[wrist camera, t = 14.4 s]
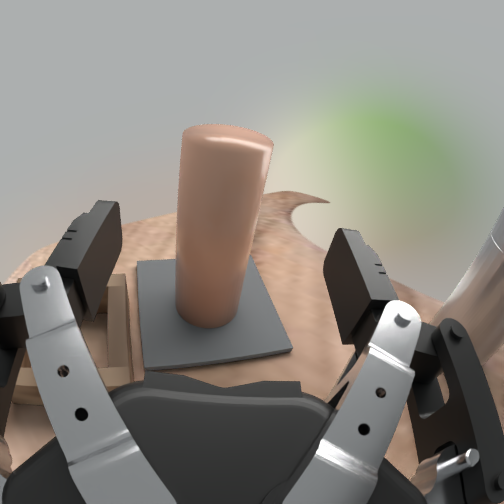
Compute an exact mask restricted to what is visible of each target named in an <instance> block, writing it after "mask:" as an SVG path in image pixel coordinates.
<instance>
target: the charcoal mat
mask: <svg viewBox="0 0 504 504" xmlns="http://www.w3.org/2000/svg"><path fill="white" fill-rule="evenodd" d="M175 265H176V259H167V260H148V261H137V279H138V300H139V316H140V329H141V340H142V351H143V360H144V368H145V371H146V370H147V371H152V370H164V369H174V368H184V367H193V366H202V365H210V364H217V363H224V362H231V361H238V360H244V359H251V358H257V357H263V356H268V355H274V354H279V353H284V352H290V351H291V350H292V349H293V347H292V344H291V342H290V340H289V338H288V336H287V333H286V331H285V329H284V327H283V325H282V322H281V320H280V318H279V316H278V314H277V311H276V309H275V307H274V305H273V303H272V300H271V298H270V296H269V294H268V292H267V289H266V287H265V285H264V283H263V281H262V278H261V276H260V274H259V272H258V270H257V267H256V265H255V263H254V261H253V259H252V256H251V255H250V256H249V260H248V265H247V269H246V274H245V278H244V283H243V288H242V292H241V297H240V301H239V306H238V310H237V313H236V315H235V317H234V318H233V319H232V320H231V321H230V322H229V323H227V324H226V325H223V326H221V327H217V328H200V327H197V326H194V325H192V324H190V323H188V322H186V321H185V320H184V319H183V318H182V317H181V316H180V315H179V313H178V312H177V309H176V305H175Z"/></svg>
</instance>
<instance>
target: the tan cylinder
mask: <svg viewBox="0 0 504 504" xmlns="http://www.w3.org/2000/svg"><path fill="white" fill-rule="evenodd" d="M273 146H274V144H273V142H272V141H271V140H270V139H269V138H268V137H266V136H265V135H262V134H261V133H258V132H256V131H253V130H250V129H246V128H242V127H237V126H231V125H222V124H220V125H219V124H206V125H197V126H193V127H190V128H188V129H186V130H184V132H183V136H182V147H181V159H180V173H179V189H178V205H177V228H176V265H175V305H176V309H177V312H178V313H179V315H180V316H181V317H182V318H183V319H184V320H185V321H186V322H188V323H190V324H192V325H194V326H197V327H200V328H217V327H221V326H223V325H226V324H227V323H229V322H230V321H231V320H232V319H233V318H234V317H235V315H236V313H237V310H238V306H239V301H240V297H241V292H242V288H243V283H244V278H245V274H246V269H247V265H248V260H249V256H250V251H251V246H252V242H253V237H254V233H255V228H256V224H257V219H258V214H259V210H260V205H261V201H262V196H263V191H264V187H265V182H266V178H267V173H268V169H269V164H270V160H271V155H272V151H273Z"/></svg>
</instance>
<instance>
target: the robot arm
mask: <svg viewBox="0 0 504 504" xmlns="http://www.w3.org/2000/svg"><path fill="white" fill-rule="evenodd" d="M121 248H122V229H121V219H120V208H119V203H118V202H115V201H102V200H98V201H97V202H96V203H95V205H94V206H93V208H92V209H91V211H90V212H89V213H83V214H82V215H80V216H79V217H77V218H76V219H75V220H74V221H73V222H72V223H71V225H70V226H69V228H68V229H67V232H65V234H64V235H63V237H62V239H61V240H60V241H59V243H58V244H57V246H56V248H55V249H54V251H53V252H52V254H51V256H50V257H49V259H48V261H47V262H46V264H45V266H39V267H36V268H34V269H32V270H30V271H29V272H27V273H26V274H25V275H24V277H23V278H22V280H21V282H20V283H12V284H4V285H2V284H1V282H0V504H498V503H501V502H503V501H504V435H503V431H502V427H501V423H500V420H499V416H498V413H497V410H496V407H495V403H494V400H493V397H492V394H491V391H490V388H489V385H488V383H487V380H486V377H485V374H484V372H483V369H482V365H483V364H484V363H485V362H486V361H487V360H488V359H489V358H490V357H491V356H492V355H493V354H494V353H495V352H496V351H497V350H498V349H499V348H500V347H501V346H502V345H503V344H504V208H503V210H502V212H501V214H500V215H499V217H498V219H497V221H496V223H495V225H494V227H493V229H492V230H491V232H490V234H489V236H488V238H487V239H486V241H485V243H484V244H483V246H482V248H481V249H480V251H479V253H478V254H477V256H476V257H475V259H474V261H473V262H472V264H471V265H470V267H469V269H468V270H467V272H466V273H465V275H464V276H463V278H462V279H461V281H460V282H459V284H458V285H457V286H456V288H455V289H454V291H453V292H452V294H451V295H450V296H449V298H448V299H447V300H446V302H445V303H444V304H443V306H442V307H441V308H440V310H439V311H438V312H437V314H436V315H435V316H434V318H433V319H432V320H431V321H430V323H429V324H427V323H424V322H421V319H420V317H419V315H418V313H417V312H416V311H415V310H414V309H413V308H412V307H411V306H410V305H408V304H407V303H404V302H402V301H399V299H398V297H397V294H396V292H395V290H394V288H393V286H392V284H391V282H390V279H389V277H388V275H386V271H385V269H384V267H383V266H382V263H381V261H380V259H379V257H378V255H377V254H376V253H375V252H374V251H373V250H372V249H371V247H370V246H369V245H365V242H364V241H363V238H362V236H361V234H360V233H359V231H356V230H350V229H343V228H339V229H338V230H337V231H336V233H335V235H334V238H333V241H332V243H331V245H330V248H329V250H328V253H327V255H326V258H325V261H324V266H323V274H324V278H325V281H326V285H327V288H328V292H329V296H330V299H331V303H332V306H333V310H334V314H335V318H336V321H337V325H338V329H339V333H340V337H341V341H342V345H348V344H354V346H355V351H354V352H353V353H352V355H351V357H350V359H349V360H348V362H347V364H346V366H345V368H344V369H343V371H342V373H341V375H340V377H339V378H338V380H337V382H336V384H335V385H334V387H333V389H332V390H331V392H330V393H329V395H328V396H327V397H326V399H325V400H324V401H323V400H321V399H319V398H317V397H315V396H313V395H310V394H307V393H304V392H301V385H300V381H261V382H256V383H250V384H245V385H240V386H234V387H228V388H222V387H218V386H215V385H211V384H208V383H205V382H202V381H199V380H196V379H193V378H190V377H187V376H184V375H177V374H169V373H161V372H154V371H147V370H146V371H145V377H144V381H136V382H131V383H128V384H125V385H122V386H119V387H117V388H115V389H113V390H111V391H110V392H109V391H108V389H107V387H106V385H105V383H104V381H103V379H102V377H101V375H100V373H99V371H98V369H97V367H96V365H95V362H94V360H93V358H92V356H91V354H90V351H89V349H88V347H87V344H86V342H85V340H84V337H83V335H82V332H81V330H80V326H81V323H82V320H88V321H93V322H94V319H95V316H96V313H97V310H98V308H99V305H100V302H101V300H102V297H103V294H104V292H105V289H106V287H107V284H108V281H109V279H110V276H111V274H112V272H113V269H114V267H115V264H116V262H117V259H118V257H119V255H120V252H121ZM26 349H27V351H28V355H29V359H30V363H31V366H32V370H33V373H34V377H35V380H36V383H37V386H38V389H39V392H40V395H41V398H42V401H43V404H44V407H45V409H46V412H47V415H48V417H49V420H50V422H51V425H52V427H53V430H54V432H55V434H56V436H55V437H54V438H53V439H52V440H51V441H49V442H48V443H47V444H46V445H45V446H43V447H42V448H41V449H40V450H39V451H37V452H36V453H35V454H34V455H32V456H31V457H30V458H29V459H28V460H26V461H25V462H24V463H23V464H22V465H20V466H19V467H18V468H17V469H15V470H14V471H13V472H12V470H11V464H12V457H11V455H10V452H9V447H8V445H7V442H6V441H5V439H4V432H5V427H6V422H7V418H8V413H9V409H10V404H11V400H12V396H13V392H14V389H15V385H16V381H17V378H18V374H19V371H20V368H21V365H22V361H23V358H24V355H25V352H26ZM442 372H444V375H445V378H446V381H447V385H448V388H449V393H450V395H449V399H448V402H447V403H446V404H445V403H444V400H443V396H442V393H441V389H440V386H439V383H438V379H437V377H438V376H439V375H440V374H441V373H442ZM406 401H407V405H408V410H409V414H410V419H411V423H412V428H413V433H414V438H415V444H416V449H417V455H418V461H419V466H418V468H417V470H416V475H414V476H413V477H412V478H411V482H410V481H409V480H408V479H407V478H406V477H405V476H404V475H403V474H402V473H400V472H399V471H398V470H397V469H396V468H395V467H394V466H393V465H392V464H391V463H390V462H389V461H388V460H387V459H385V458H384V455H385V453H386V451H387V449H388V446H389V444H390V442H391V439H392V437H393V435H394V432H395V430H396V427H397V425H398V422H399V419H400V417H401V414H402V411H403V409H404V406H405V403H406Z"/></svg>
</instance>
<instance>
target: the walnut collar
mask: <svg viewBox="0 0 504 504" xmlns="http://www.w3.org/2000/svg"><path fill="white" fill-rule="evenodd" d="M21 280H22V278H18V281H17V283H20V282H21ZM97 313H108V327H107V336H108V368H97V369H98V371H99V373H100V375H101V377H102V379H103V381H104V383H105V385H106V387H107V389H108V391H109V392H110V391H111V390H113V389H115V388H117V387H119V386H122V385H125V384H128V383H131V382H134V374H133V364H132V352H131V338H130V319H129V298H128V291H127V284H126V276H125V274H111V276H110V279H109V281H108V284H107V287H106V289H105V292H104V294H103V297H102V300H101V302H100V305H99V308H98V310H97ZM11 401H12V402H13V403H16V404H28V405H44V404H43V401H42V398H41V395H40V392H39V389H38V386H37V383H36V380H35V377H34V373H33V370H32V368H31V363H30V359H29V355H28V351H27V349H26V352H25V355H24V358H23V361H22V365H21V368H20V371H19V374H18V378H17V381H16V385H15V389H14V392H13V396H12V400H11Z"/></svg>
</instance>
